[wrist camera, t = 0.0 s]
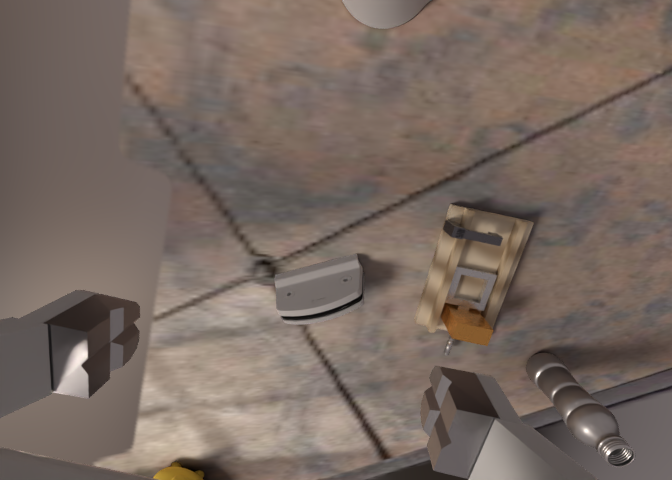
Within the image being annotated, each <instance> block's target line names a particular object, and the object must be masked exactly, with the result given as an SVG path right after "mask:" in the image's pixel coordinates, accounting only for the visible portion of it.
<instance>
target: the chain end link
mask: <svg viewBox="0 0 672 480" xmlns="http://www.w3.org/2000/svg"><path fill="white" fill-rule="evenodd" d="M461 275H466V276H471V277H476V278H480V279H485V280H484V283H483V286H482V289H481V291H480V294H479V297H478V299H477V300H473V299H468V298H463V297H458V296H454V295H455V292H456V289H457V286H458V283H459V280H460V277H461ZM496 278H497V275H496V274H495V273H493V272H488V271H484V270H479V269H474V268H469V267H465V266H460V265H457V267H456V270H455V273H454V276H453V279H452V282H451V285H450V288H449V291H448V294H447V297H446V300H445V305H444V308H443V311H442V314H441V319H442V321H443V323H444V324H445V326H446V328H447V330H448V332H449V334H450V335H449V339H448V341H447V344H446V347H445V349H444V354H445V355H449V353H450V350H451V347H452V344H453V340H454V339H457V340H462V341H466V342H471V343H476V344H481V345H485V346H487V345H488V343H489V340H490V338H491V335H492V333H493V329H492V328H491V326H490V325H489V324H488V323H487V321H486V320H485V319H484V317H483V316H482V315H481V313H480V312H479V311H478V310H482V311H484V309H485V307H486V304H487V302H488V299H489V296H490V294H491V291H492V288H493V286H494V283H495V280H496ZM477 309H478V310H477Z"/></svg>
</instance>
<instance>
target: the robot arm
mask: <svg viewBox="0 0 672 480" xmlns="http://www.w3.org/2000/svg"><path fill="white" fill-rule="evenodd" d="M342 1H343V3H344V5H345V7H346V8H347V10H348V11H349V12H350V13H351V14H352V15H353V16H354V17H355V18H356V19H357V20H358V21H360V22H361V23H363V24H365V25H367V26H370V27H374V28H380V29H387V28H393V27H397V26H400V25H402V24H404V23H406V22H408V21H409V20H411V19H412V18H413V17H414V16H416V15H417V14H418V13H419V12H420V11H421V9H422V8H423V7H424V6H425V5H426V4H427V3H428V2H430V1H432V0H342ZM139 318H140V306H139V305H138V304H137V303H136V302H134V301H129V300H125V299H120V298H116V297H111V296H108V295H103V294H99V293H94V292H90V291H85V290H75V291H73V292H71V293H69V294H67V295H65V296H63V297H61V298H59V299H57V300H55V301H54V302H51V303H49V304H47V305H45V306H43V307H41V308H39V309H37V310H35V311H33V312H31V313H30V314H27V315H25V316H23V317H21V318H19V319H18V318H13V317H12V318H7V319H1V320H0V418H1V417H3V416H5V415H7V414H10V413H12V412H14V411H16V410H18V409H21V408H23V407H25V406H27V405H29V404H31V403H34V402H36V401H38V400H40V399H42V398H44V397H46V396H49V395H51V394H52V392H54V393H60V394H66V395H71V396H77V397H82V398H90V397H91V396H92V395H93V394H94V393H95V392H96V391H97V390H98V389H99V388H101V387H102V386H103V385H104V384H105V383H106V382H107V381H108V380H109V379H110V371H113V370H115V369H118V368H121V367H123V366H124V365H125V364H126V363H127V362H128V361H129V360H130V359H131V357H132V355H133V354H134V352H135V350H136V349H137V345H138V342H139V330H138V328H137V327H136V326H135V324H134V322H136V321H137V320H138V319H139ZM429 379H430V382H431V385H432V386H431V387H430V388H429V389H427V390H426V391H425V392H424V395H423V398H422V401H421V411H420V414H421V423H422V427H423V430H424V431H425V432H426V433H427V435H428V436H429V437H430V438H429V441H428V443H427V447H428V451H429V455H430V459H431V463H432V467H433V470H434V471H438V472H442V473H446V474H450V475H454V476H459V477H463V478H467V479H469V480H598V479H597V478H596V477H594V476H593V475H592V474H591V473H589V472H588V471H587V470H585V469H584V468H583V467H582V466H580V465H579V464H578V463H577V462H575V461H574V460H572V459H571V458H570V457H569V456H568V455H566V454H565V453H564V452H562V451H561V450H560V449H559V448H557V447H556V446H555V445H554V444H552V443H551V442H550V441H549V440H547V439H546V438H545V437H543V436H542V435H541V434H540V433H538V432H537V431H536V430H535V429H533V428H532V427H531V426H529V425H524V424H523V423H522V421H521V420H520V418H519V416H518V415H517V413H516V412H515V410H514V408H513V407H512V405H511V404H510V402H509V400H508V399H507V397H506V396H505V394H504V392H503V391H502V389H501V388H500V386H499V384H498V383H497V381H496V380H495V378H493V377H492V376H490V375H485V374H479V373H474V372H466V371H461V370H456V369H451V368H445V367H440V366H435V367H434V368H433V369H432V372H431V374H430V377H429ZM0 480H159V479H154V478H149V477H144V476H140V475H135V474H130V473H125V472H120V471H115V470H111V469H106V468H101V467H96V466H91V465H86V464H81V463H77V462H72V461H67V460H62V459H57V458H52V457H48V456H43V455H38V454H33V453H28V452H23V451H19V450H14V449H9V448H4V447H0Z"/></svg>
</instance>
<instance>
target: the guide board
mask: <svg viewBox="0 0 672 480" xmlns="http://www.w3.org/2000/svg"><path fill="white" fill-rule="evenodd" d="M446 220H450V221H455V222H457V223H459V224H460V225H461V226H463V227H464V228H466V229H469V230H473V231H478V232H483V233H487V234H488V232H492V233H497V234H499V235H500V236H502V238H503V240H502V243H501V245H500V246H496V245H491V244H487V243H482V242H477V241H473V240H468V239H457V238H453V237H450V236H449V235H448V234H447V233H446V232H445V231H444V230H443V229H442V232H441V235H440V238H439V242H438V245H437V248H436V251H435V255H434V258H433V261H432V264H431V267H430V271H429V274H428V277H427V280H426V284H425V287H424V290H423V293H422V297H421V300H420V303H419V306H418V309H417V313H416V316H415V319H414V320H415V323H416V324H419V325H424V326H427V328H428V331H429V332H432V333H435V330H436V328H438V329H443V330H447V328H446V326H445V324H444V323H443V321H442V319H441V314H442V311H443V308H444V305H445V300H446V297H447V294H448V291H449V288H450V285H451V282H452V279H453V276H454V273H455V270H456V267H457V265H460V266H465V267H469V268H474V269H479V270H484V271H488V272H493V273H495V274H496V275H497V278H496V280H495V283H494V286H493V288H492V291H491V294H490V296H489V299H488V302H487V304H486V307H485V309H484V311H482V310H478V309H477V310H478V311H479V312H480V313H481V315H482V316H483V317H484V319H485V320H486V321H487V323H488V324H489V325H490V326H491V328H492V329H493V326H494V323H495V321H496V318H497V316H498V313H499V311H500V308H501V306H502V303H503V300H504V298H505V295H506V293H507V290H508V288H509V285H510V283H511V280H512V278H513V275H514V272H515V270H516V267H517V265H518V262H519V260H520V257H521V255H522V252H523V250H524V247H525V244H526V242H527V239H528V237H529V234H530V232H531V229H532V227H533V224H534V222H531V221H528V220H523V219H519V218H514V217H509V216H505V215H500V214H495V213H491V212H486V211H481V210H477V209H472V208H467V207H463V206H458V205H453V204H450V206H449V209H448V213H447V216H446V219H445V221H446ZM444 224H445V222H444ZM443 227H444V226H443ZM484 280H485V279H480V278H476V277H471V276H466V275H461V277H460V280H459V283H458V286H457V289H456V292H455V295H454V296H458V297H463V298H468V299H473V300H477V299H478V297H479V294H480V291H481V289H482V286H483V283H484ZM447 331H448V330H447Z"/></svg>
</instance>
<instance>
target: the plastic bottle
mask: <svg viewBox="0 0 672 480" xmlns="http://www.w3.org/2000/svg"><path fill="white" fill-rule="evenodd" d="M526 372H527V374H528V376H529V378H530V380H531V381H532V382H533V383H534V384H535V385H536V386H537V387H538V388H539V389H541V390H542V391H543V393H544V394H545V395H546V396H547V397H548V398H549V399H550V400H551V402H552V403H553V404H554V406H555V407H556V409H557V410H558V412H559V413H560V415H561V417H562V418H563V420H564V422H565V424H566V426H567V427H568V429H569V431H570V432H571V434H572V435H573V436H574V437H575V438H576V439H577V440H578V441H580V442H581V443H583V444H585V445H588V446H590V447H593V448H595V449H596V450H597V452H598V453H599V454H600V455H601V456H602V457H603V458H604V459H605V460H606V461H607V463H608V464H610V465H611V466H613V467H624V466H627V465H629V464H631V463H632V462H633V461H634V459H635V456H636V455H635V452H634V450H633V449H632V448H631V447H630V446H629V445H628V443H627V442H626V440H624V438H622V437H621V436H620V432H619V426H618V423H617V420H616V419H615V417H614V415H613V414H612V413H611V412H610V411H609V410H608V409H607V408H606V407H604V406H603V405H602V404H601V403H599V402H598V401H597V400H596V399H594V398H593V397H592V396H591V395H590V394H589V393H588V392H587V391H586V390H584V389H583V388H582V387H581V386H580V385H579V384H578V382H577V381H576V380H575V379H574V377H573V376H572V375H571V373H570V372H569V370H568V368H567V367H566V365H565V364H564V363H563V361H562V360H560V359H559V358H558V357H556V356H555V355H553V354H550V353H538V354H535V355H533V356H532V357H531V358H530V359H529V360H528V362H527V365H526Z"/></svg>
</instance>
